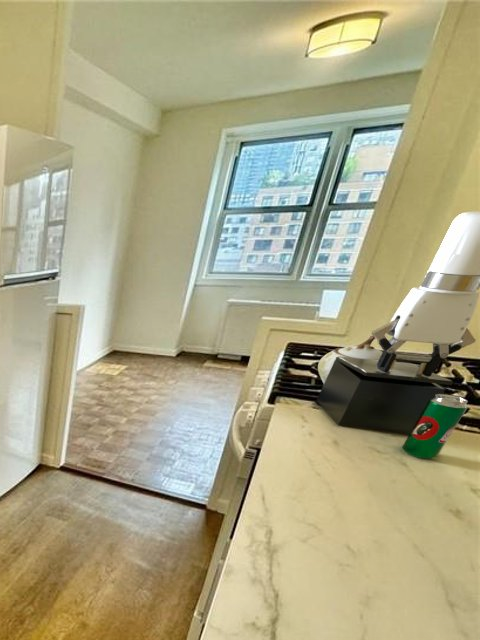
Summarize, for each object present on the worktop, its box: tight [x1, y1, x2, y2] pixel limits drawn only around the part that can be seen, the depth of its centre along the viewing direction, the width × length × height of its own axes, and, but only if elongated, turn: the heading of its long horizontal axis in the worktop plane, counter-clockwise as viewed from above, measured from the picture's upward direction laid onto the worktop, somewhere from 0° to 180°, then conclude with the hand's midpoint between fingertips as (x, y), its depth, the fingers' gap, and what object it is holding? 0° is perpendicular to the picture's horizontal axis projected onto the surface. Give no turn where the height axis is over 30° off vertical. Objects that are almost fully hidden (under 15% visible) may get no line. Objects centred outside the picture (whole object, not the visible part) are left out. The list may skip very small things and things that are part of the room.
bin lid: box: [336, 351, 454, 386], centre depth 105 cm, size 16×14×5 cm
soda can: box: [401, 393, 469, 460], centre depth 94 cm, size 5×5×12 cm
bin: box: [315, 360, 446, 436], centre depth 109 cm, size 16×14×11 cm
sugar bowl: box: [317, 334, 383, 384], centre depth 123 cm, size 20×15×15 cm
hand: (403, 371), depth 101 cm, fingers closed on bin lid, 6 cm apart
